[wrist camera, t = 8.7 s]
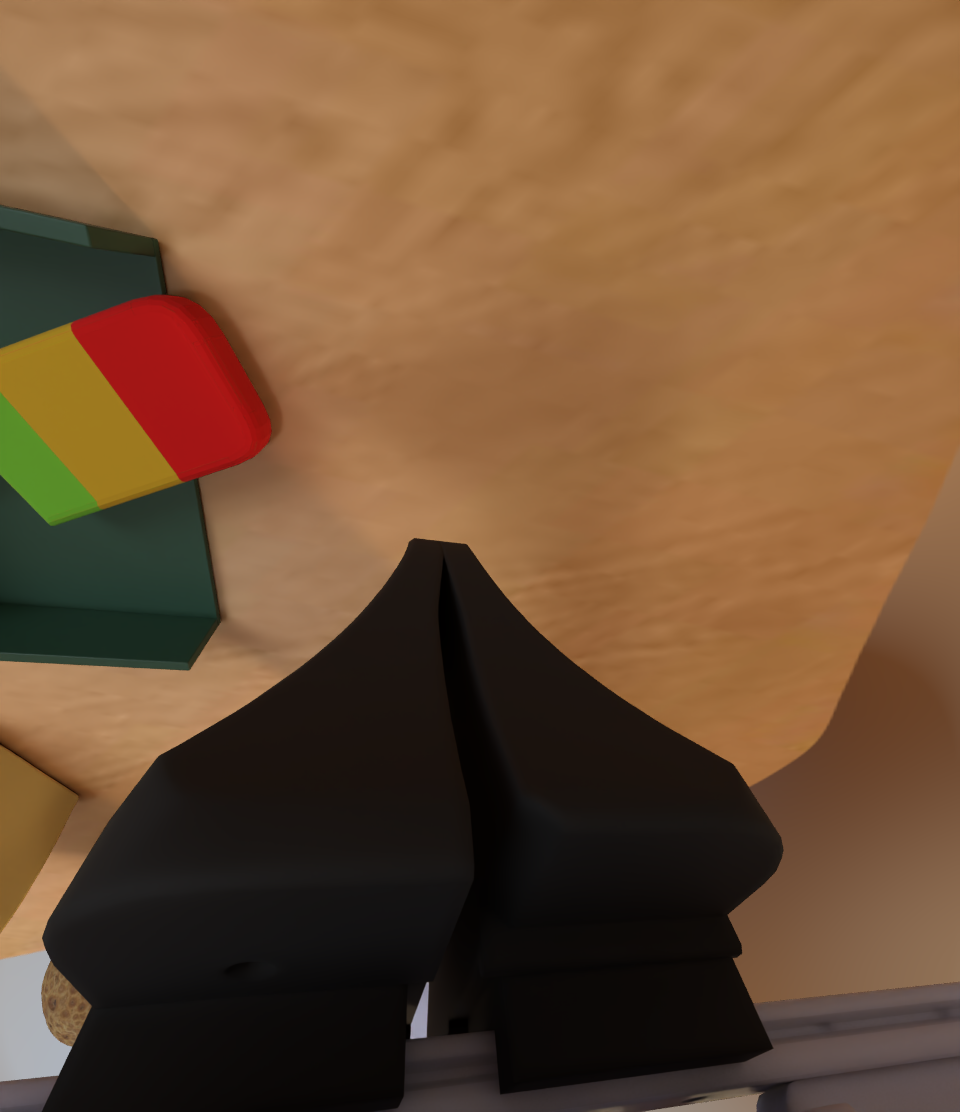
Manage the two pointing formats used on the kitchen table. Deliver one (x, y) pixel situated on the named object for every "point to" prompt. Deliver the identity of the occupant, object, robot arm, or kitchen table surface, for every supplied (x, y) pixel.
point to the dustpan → (110, 534)
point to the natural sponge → (63, 1006)
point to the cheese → (27, 826)
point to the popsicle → (123, 407)
